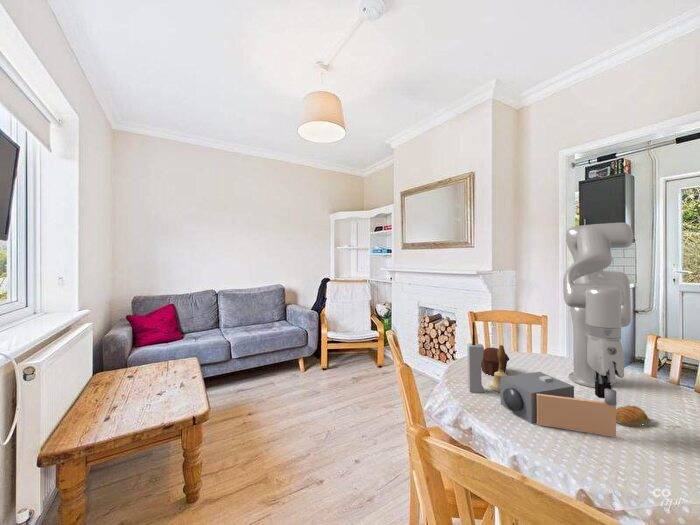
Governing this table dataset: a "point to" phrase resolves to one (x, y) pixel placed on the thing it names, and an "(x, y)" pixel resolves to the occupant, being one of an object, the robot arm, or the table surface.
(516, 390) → the cabinet body
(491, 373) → the muffin
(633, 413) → the pastry
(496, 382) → the hand bell
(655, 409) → the table surface
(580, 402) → the side door
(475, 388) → the vintage mobile phone
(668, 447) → the table surface
